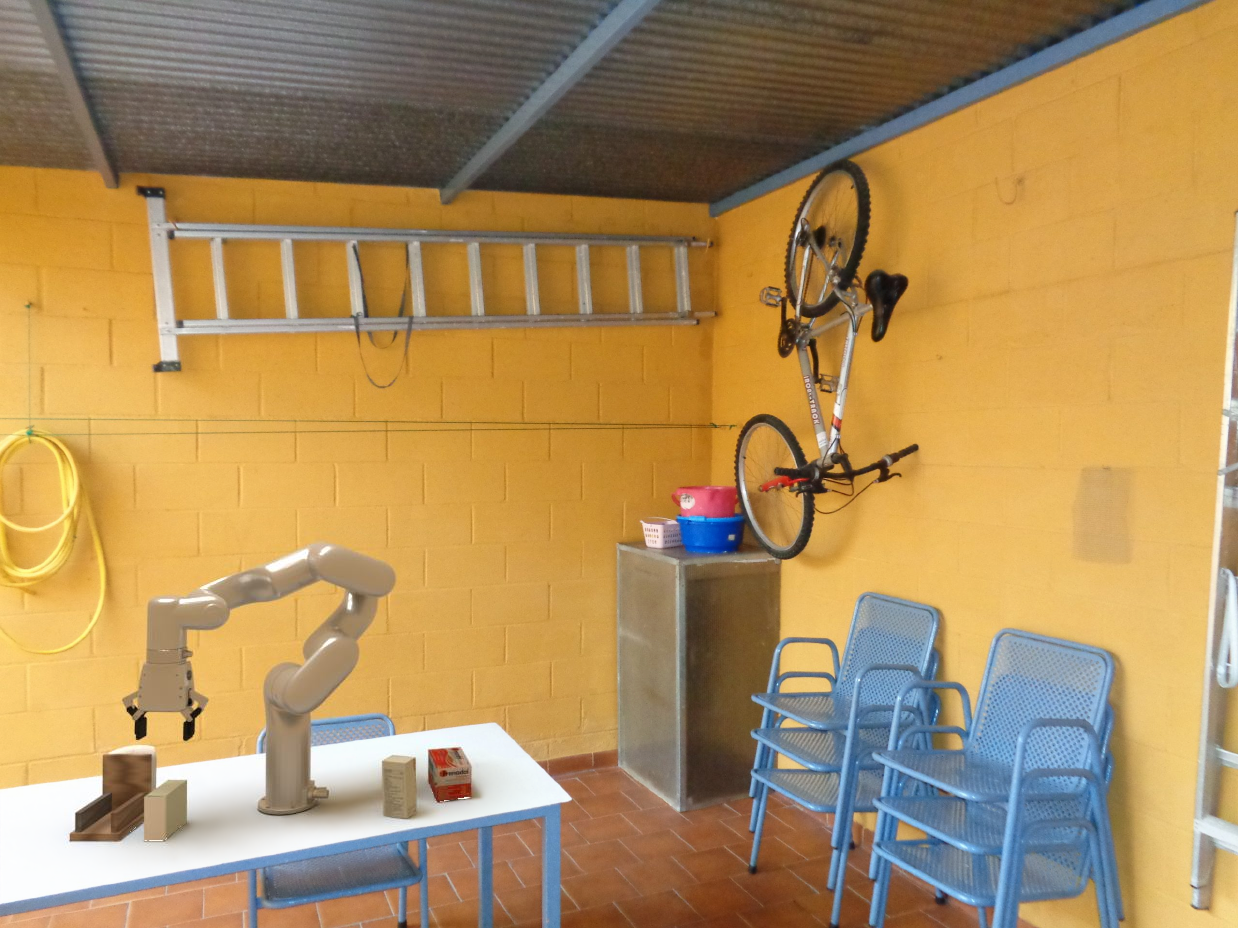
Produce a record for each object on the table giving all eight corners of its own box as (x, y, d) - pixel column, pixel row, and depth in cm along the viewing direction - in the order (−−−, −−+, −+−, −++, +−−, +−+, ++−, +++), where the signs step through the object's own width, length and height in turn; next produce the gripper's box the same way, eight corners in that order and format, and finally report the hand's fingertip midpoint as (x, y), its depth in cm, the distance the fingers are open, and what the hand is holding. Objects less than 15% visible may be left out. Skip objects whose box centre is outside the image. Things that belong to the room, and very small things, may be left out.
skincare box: (417, 812, 203) (417, 756, 203) (406, 819, 199) (407, 762, 199) (392, 808, 205) (392, 753, 205) (381, 815, 201) (381, 759, 201)
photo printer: (155, 793, 213) (155, 739, 213) (157, 799, 210) (157, 744, 210) (104, 802, 208) (104, 747, 208) (105, 808, 204) (106, 752, 204)
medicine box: (472, 799, 212) (472, 764, 211) (436, 803, 209) (436, 768, 209) (460, 778, 226) (460, 745, 226) (426, 781, 223) (426, 748, 223)
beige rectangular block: (187, 821, 197) (187, 779, 197) (164, 841, 187) (164, 796, 187) (167, 821, 197) (168, 779, 197) (143, 841, 187) (144, 796, 187)
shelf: (151, 816, 200) (151, 753, 200) (119, 840, 187) (119, 774, 187) (104, 815, 200) (105, 753, 200) (69, 840, 187) (70, 773, 187)
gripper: (216, 653, 195) (214, 734, 195) (133, 651, 195) (132, 732, 195) (200, 660, 188) (198, 744, 188) (114, 658, 188) (112, 743, 188)
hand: (164, 738), depth 191 cm, fingers open, 9 cm apart
